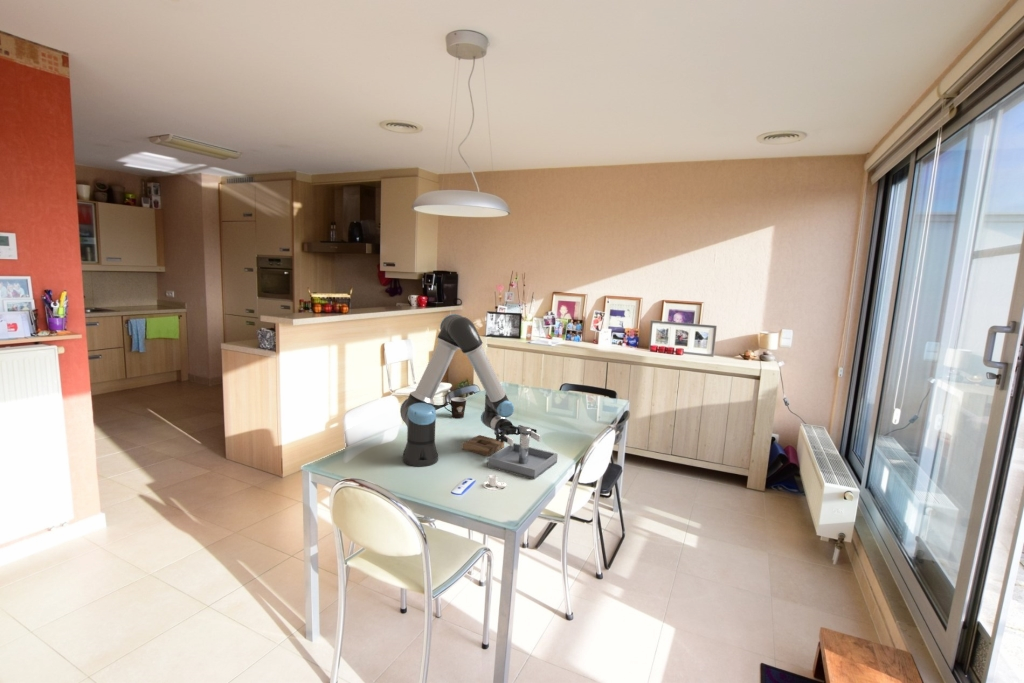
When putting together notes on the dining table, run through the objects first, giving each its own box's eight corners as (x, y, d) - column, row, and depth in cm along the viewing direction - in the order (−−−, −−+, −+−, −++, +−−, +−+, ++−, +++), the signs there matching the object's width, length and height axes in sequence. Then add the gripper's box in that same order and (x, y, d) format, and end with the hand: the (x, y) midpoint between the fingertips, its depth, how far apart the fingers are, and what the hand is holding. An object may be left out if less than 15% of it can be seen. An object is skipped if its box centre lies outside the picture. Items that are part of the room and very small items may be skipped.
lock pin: (525, 465, 212) (528, 431, 209) (514, 462, 214) (517, 428, 212) (531, 461, 216) (533, 428, 214) (520, 458, 219) (522, 425, 216)
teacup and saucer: (509, 488, 193) (509, 477, 192) (493, 493, 187) (494, 483, 186) (494, 480, 199) (494, 470, 198) (478, 485, 193) (479, 475, 193)
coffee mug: (467, 415, 282) (467, 398, 281) (464, 419, 274) (464, 402, 272) (446, 413, 283) (447, 396, 282) (443, 418, 275) (443, 400, 273)
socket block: (488, 456, 223) (488, 449, 222) (462, 449, 229) (462, 443, 229) (504, 447, 235) (504, 441, 234) (479, 441, 241) (479, 435, 241)
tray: (534, 479, 201) (535, 469, 200) (487, 466, 211) (488, 457, 210) (557, 462, 220) (557, 453, 219) (513, 451, 230) (513, 443, 230)
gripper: (524, 430, 238) (550, 445, 220) (477, 437, 225) (500, 453, 207) (525, 415, 237) (551, 428, 218) (478, 421, 224) (500, 435, 206)
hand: (526, 440), depth 213 cm, fingers open, 13 cm apart
